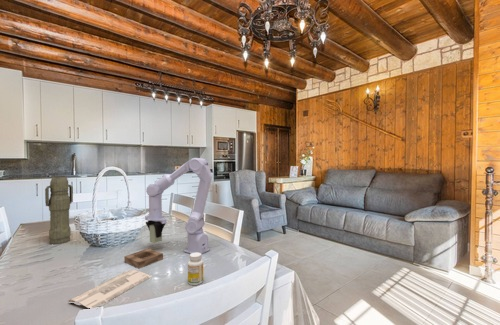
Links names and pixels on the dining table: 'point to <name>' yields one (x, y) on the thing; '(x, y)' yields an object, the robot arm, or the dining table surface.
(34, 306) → the dining table surface
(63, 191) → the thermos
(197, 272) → the supplement bottle
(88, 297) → the newspaper
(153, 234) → the peg
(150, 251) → the socket block
